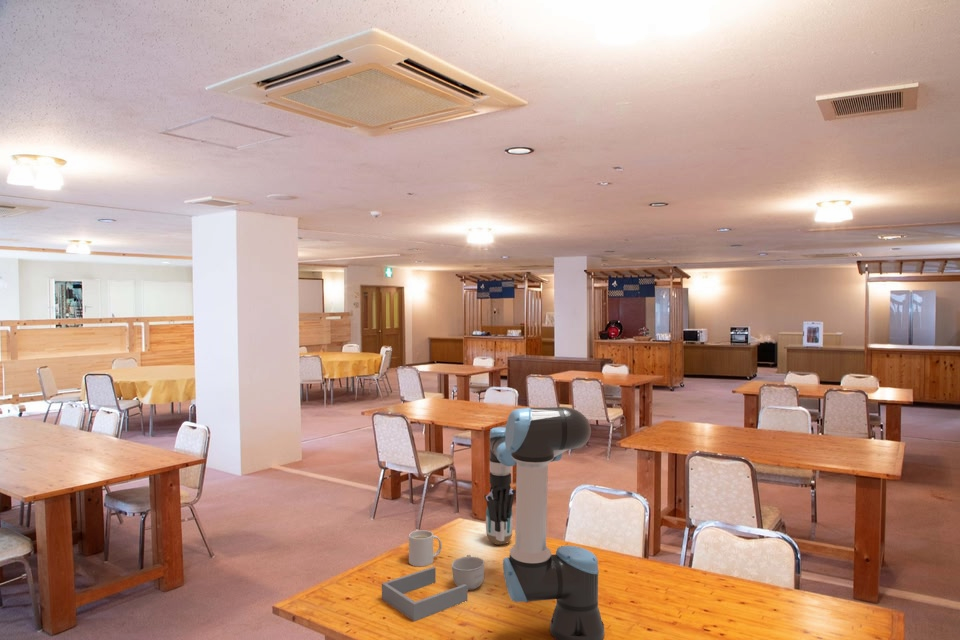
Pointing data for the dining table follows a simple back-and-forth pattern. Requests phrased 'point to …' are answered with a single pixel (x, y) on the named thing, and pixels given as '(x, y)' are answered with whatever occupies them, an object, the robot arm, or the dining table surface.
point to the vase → (492, 533)
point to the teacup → (468, 571)
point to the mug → (422, 548)
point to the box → (426, 606)
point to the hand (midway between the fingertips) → (500, 539)
